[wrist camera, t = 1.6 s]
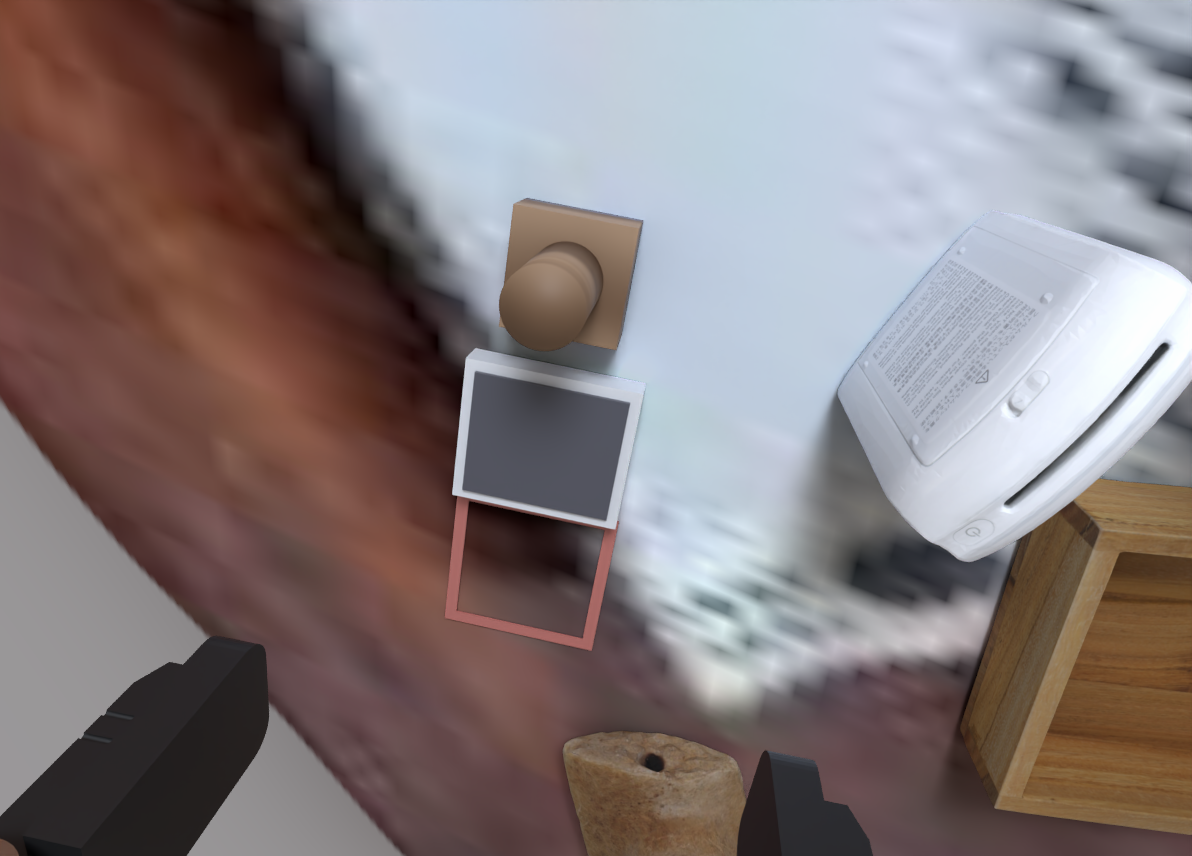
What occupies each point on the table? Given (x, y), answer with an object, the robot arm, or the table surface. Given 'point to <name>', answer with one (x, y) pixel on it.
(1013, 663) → the tray
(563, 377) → the ink pad
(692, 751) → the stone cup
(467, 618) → the marked square
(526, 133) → the table surface
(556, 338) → the hand stamp
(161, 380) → the table surface
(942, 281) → the photo printer
